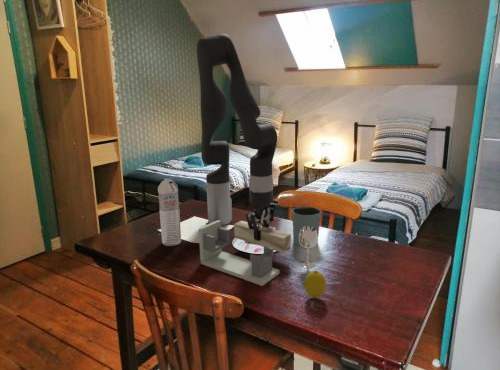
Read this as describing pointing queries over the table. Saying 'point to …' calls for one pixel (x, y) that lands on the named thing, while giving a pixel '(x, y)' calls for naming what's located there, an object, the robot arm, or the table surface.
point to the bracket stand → (214, 257)
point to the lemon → (315, 284)
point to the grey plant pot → (304, 220)
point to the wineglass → (308, 242)
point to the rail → (263, 237)
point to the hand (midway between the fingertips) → (261, 237)
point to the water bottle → (169, 212)
